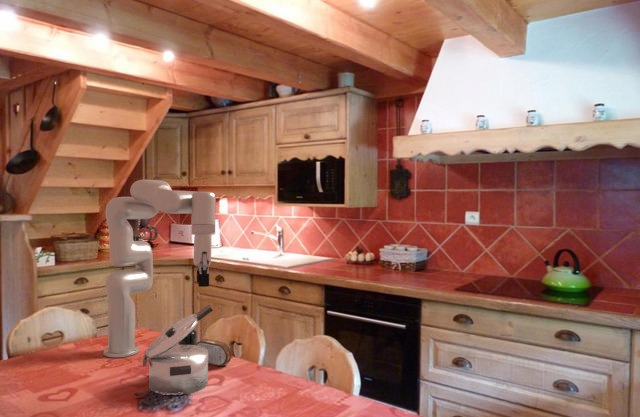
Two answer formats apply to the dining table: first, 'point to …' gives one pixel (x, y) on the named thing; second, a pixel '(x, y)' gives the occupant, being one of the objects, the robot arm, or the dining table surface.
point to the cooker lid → (175, 333)
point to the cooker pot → (179, 370)
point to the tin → (216, 352)
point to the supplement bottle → (189, 339)
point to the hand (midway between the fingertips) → (202, 283)
